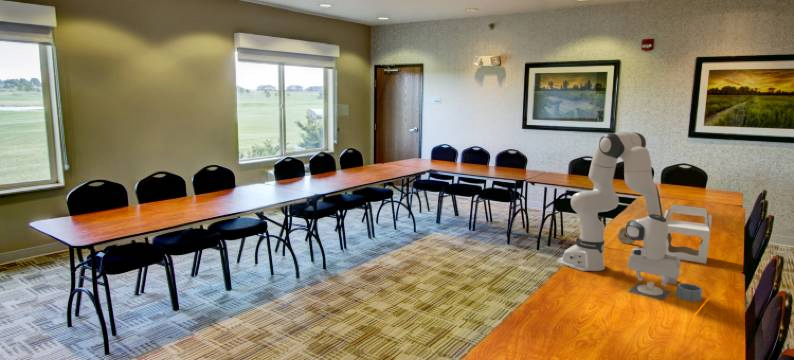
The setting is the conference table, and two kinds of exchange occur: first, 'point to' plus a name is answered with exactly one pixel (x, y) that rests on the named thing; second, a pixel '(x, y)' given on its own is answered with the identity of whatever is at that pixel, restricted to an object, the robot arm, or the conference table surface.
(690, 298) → the bowl
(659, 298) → the mat
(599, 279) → the conference table surface
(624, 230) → the stone disc
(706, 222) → the gable box
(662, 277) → the medicine box
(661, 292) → the lid
